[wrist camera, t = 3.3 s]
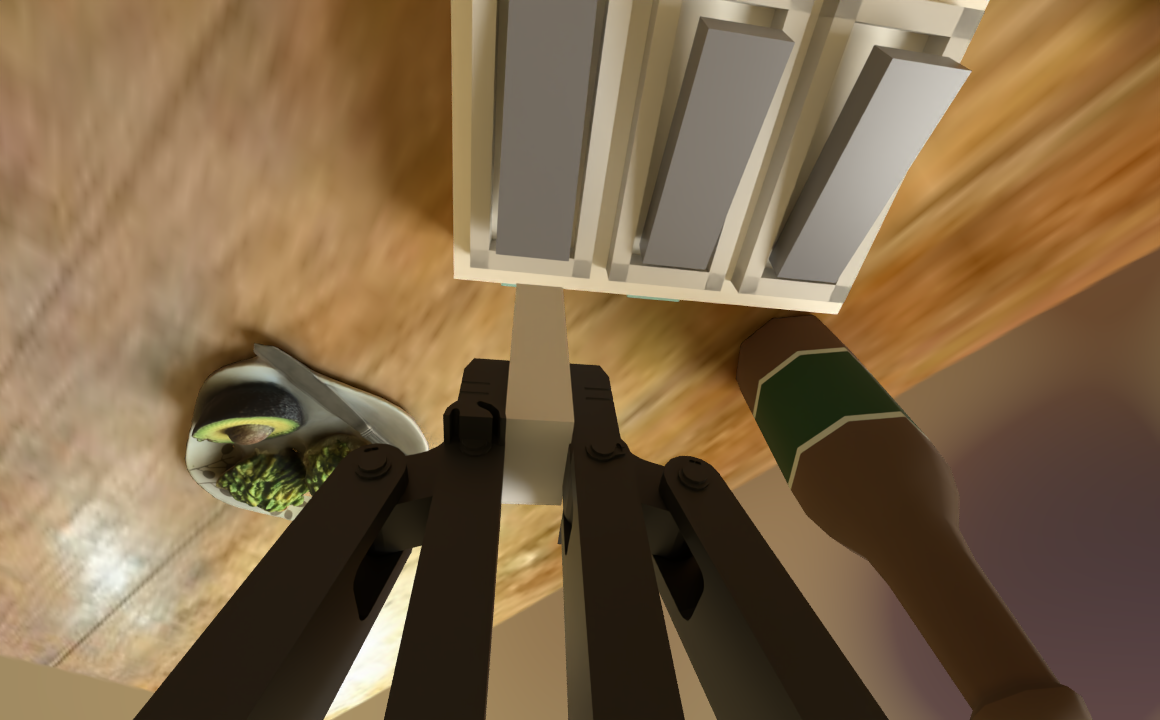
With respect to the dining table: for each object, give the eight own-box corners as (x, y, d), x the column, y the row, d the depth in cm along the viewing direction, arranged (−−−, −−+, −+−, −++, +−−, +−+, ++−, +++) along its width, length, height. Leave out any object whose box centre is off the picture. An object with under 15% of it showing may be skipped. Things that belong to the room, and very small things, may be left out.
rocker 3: (874, 44, 19) (892, 58, 18) (949, 57, 20) (971, 70, 19) (768, 258, 27) (776, 276, 26) (824, 264, 27) (835, 282, 26)
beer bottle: (844, 372, 39) (1154, 752, 19) (746, 410, 40) (937, 794, 21) (826, 291, 34) (1200, 671, 15) (717, 337, 36) (923, 733, 16)
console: (467, -107, 22) (442, -142, 17) (926, -22, 25) (1029, -30, 19) (466, 246, 31) (450, 295, 26) (800, 280, 34) (847, 330, 28)
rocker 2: (699, 16, 19) (708, 28, 18) (781, 29, 19) (795, 42, 18) (639, 244, 26) (642, 263, 25) (699, 251, 26) (705, 269, 25)
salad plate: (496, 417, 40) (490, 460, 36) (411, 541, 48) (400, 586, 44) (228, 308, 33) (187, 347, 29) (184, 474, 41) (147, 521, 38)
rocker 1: (512, -12, 19) (510, -25, 18) (593, 1, 20) (598, -10, 18) (497, 247, 23) (495, 254, 22) (567, 254, 24) (569, 261, 22)
